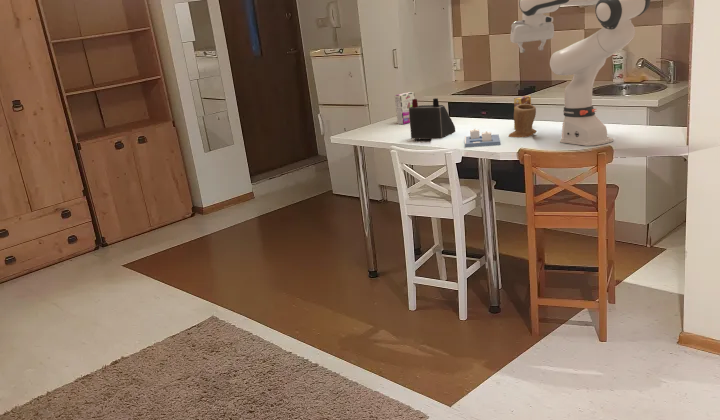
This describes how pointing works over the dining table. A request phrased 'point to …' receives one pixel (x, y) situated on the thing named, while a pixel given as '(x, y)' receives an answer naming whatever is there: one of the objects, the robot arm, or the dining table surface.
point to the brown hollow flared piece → (524, 120)
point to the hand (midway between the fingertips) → (531, 51)
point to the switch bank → (479, 142)
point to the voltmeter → (429, 121)
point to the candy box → (521, 102)
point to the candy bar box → (403, 107)
